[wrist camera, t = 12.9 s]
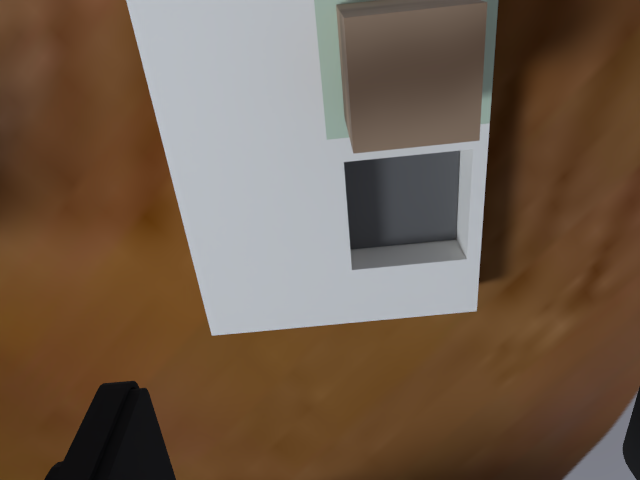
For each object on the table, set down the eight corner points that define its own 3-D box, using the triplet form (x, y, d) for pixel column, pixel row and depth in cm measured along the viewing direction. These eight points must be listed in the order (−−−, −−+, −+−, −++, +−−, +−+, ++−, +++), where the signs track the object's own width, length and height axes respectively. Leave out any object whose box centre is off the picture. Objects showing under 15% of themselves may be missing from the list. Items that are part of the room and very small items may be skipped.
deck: (465, 287, 33) (485, 329, 29) (217, 310, 33) (207, 354, 30) (500, -360, 19) (548, -435, 15) (69, -308, 19) (13, -369, 15)
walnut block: (448, 107, 25) (479, 140, 20) (344, 118, 25) (353, 153, 20) (451, -8, 22) (487, 2, 18) (336, 4, 22) (344, 17, 18)
